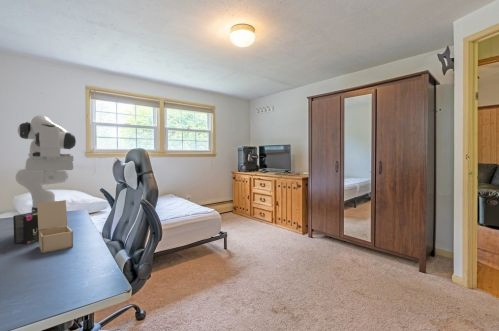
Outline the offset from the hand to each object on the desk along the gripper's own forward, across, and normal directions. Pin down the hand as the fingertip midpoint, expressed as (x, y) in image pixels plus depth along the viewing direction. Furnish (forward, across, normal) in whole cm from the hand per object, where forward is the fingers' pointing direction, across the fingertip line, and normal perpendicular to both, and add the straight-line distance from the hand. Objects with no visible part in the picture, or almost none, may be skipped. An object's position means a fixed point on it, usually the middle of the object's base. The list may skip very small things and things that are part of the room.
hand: (50, 179), depth 132 cm
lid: (+19, 0, +5) cm, 19 cm away
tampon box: (+34, +8, -8) cm, 36 cm away
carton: (+34, 0, +14) cm, 37 cm away
